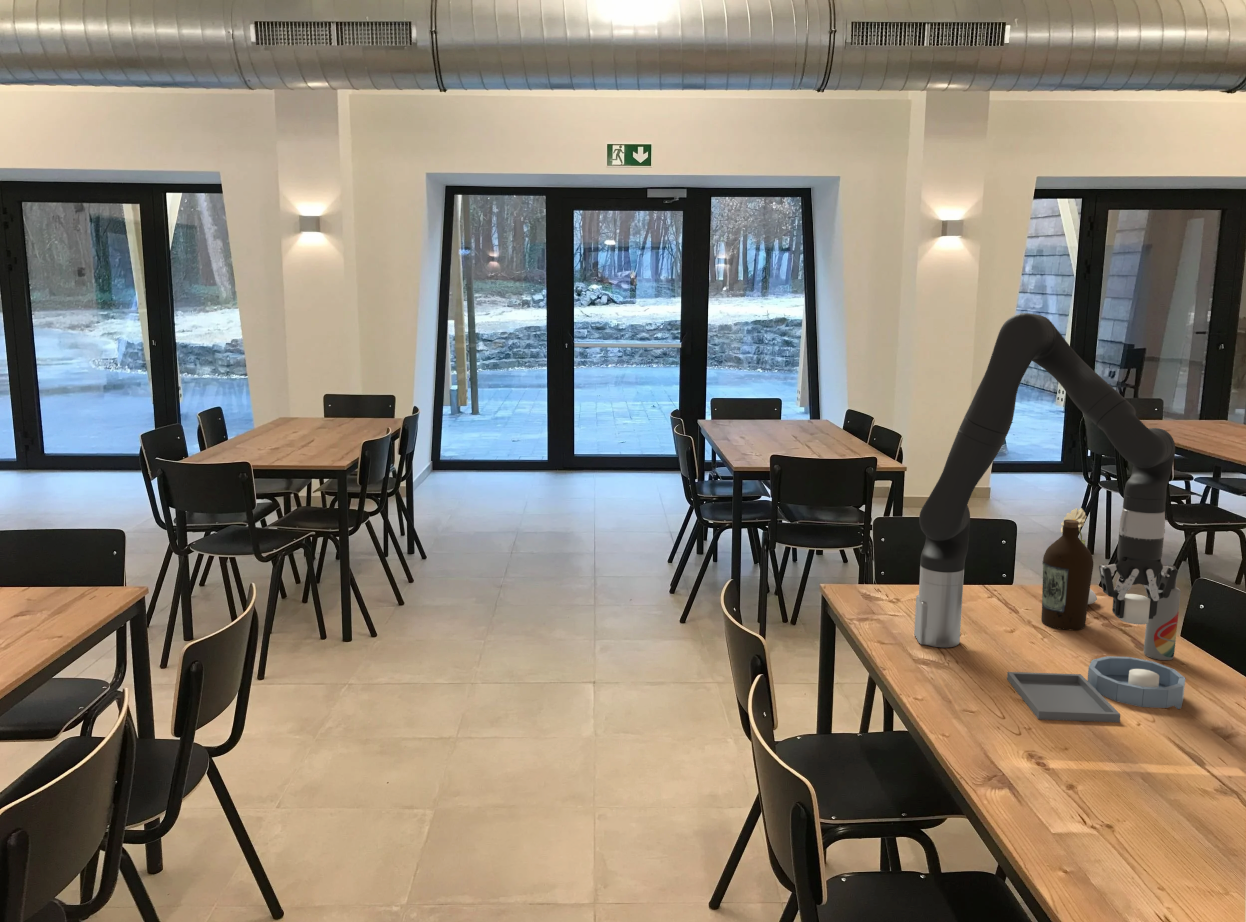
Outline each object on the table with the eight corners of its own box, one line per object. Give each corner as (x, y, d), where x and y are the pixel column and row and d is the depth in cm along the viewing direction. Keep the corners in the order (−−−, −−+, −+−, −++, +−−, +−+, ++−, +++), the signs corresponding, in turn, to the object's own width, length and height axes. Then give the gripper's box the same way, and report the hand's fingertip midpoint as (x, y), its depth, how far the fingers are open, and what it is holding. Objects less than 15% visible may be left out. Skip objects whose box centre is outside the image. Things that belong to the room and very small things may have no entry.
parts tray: (1038, 724, 165) (1039, 711, 165) (1006, 683, 183) (1007, 671, 183) (1119, 727, 164) (1120, 714, 164) (1079, 686, 182) (1080, 674, 181)
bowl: (1108, 710, 171) (1110, 687, 170) (1075, 676, 186) (1077, 655, 186) (1199, 713, 169) (1201, 690, 168) (1157, 679, 185) (1160, 657, 184)
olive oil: (1061, 613, 224) (1069, 514, 220) (1098, 627, 214) (1107, 523, 210) (1028, 619, 220) (1035, 518, 216) (1064, 634, 210) (1073, 528, 206)
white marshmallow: (1134, 701, 172) (1136, 678, 171) (1122, 690, 177) (1124, 668, 176) (1162, 702, 172) (1164, 679, 171) (1149, 691, 177) (1151, 669, 176)
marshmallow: (1125, 624, 176) (1127, 601, 176) (1114, 615, 181) (1116, 593, 181) (1153, 624, 176) (1155, 602, 175) (1141, 616, 181) (1143, 594, 180)
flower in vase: (1044, 592, 240) (1051, 499, 236) (1093, 597, 236) (1101, 502, 232) (1049, 608, 228) (1057, 510, 223) (1100, 613, 224) (1109, 513, 220)
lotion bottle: (1178, 661, 194) (1187, 570, 190) (1148, 659, 195) (1157, 569, 192) (1168, 651, 199) (1177, 562, 196) (1139, 649, 200) (1148, 561, 197)
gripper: (1171, 528, 179) (1162, 612, 182) (1094, 527, 180) (1087, 610, 183) (1190, 538, 171) (1181, 625, 174) (1110, 536, 173) (1103, 623, 176)
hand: (1133, 617), depth 179 cm, fingers closed on marshmallow, 5 cm apart
